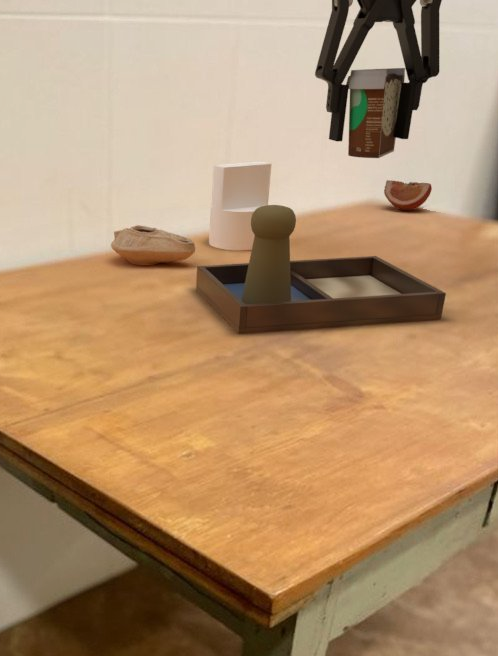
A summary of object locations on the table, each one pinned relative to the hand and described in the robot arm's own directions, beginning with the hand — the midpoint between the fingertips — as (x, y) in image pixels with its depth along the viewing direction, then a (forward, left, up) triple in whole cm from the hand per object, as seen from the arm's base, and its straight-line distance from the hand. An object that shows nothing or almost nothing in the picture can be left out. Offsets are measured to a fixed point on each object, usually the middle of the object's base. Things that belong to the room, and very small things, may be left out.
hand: (368, 138), depth 109 cm
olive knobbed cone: (+19, +16, -16) cm, 30 cm away
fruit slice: (-28, -38, -17) cm, 50 cm away
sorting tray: (+13, +16, -17) cm, 27 cm away
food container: (0, 0, -2) cm, 2 cm away
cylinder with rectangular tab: (+12, -17, -17) cm, 27 cm away
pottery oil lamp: (+28, -8, -17) cm, 34 cm away
